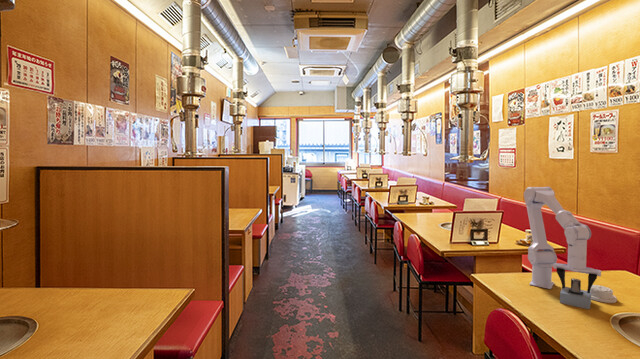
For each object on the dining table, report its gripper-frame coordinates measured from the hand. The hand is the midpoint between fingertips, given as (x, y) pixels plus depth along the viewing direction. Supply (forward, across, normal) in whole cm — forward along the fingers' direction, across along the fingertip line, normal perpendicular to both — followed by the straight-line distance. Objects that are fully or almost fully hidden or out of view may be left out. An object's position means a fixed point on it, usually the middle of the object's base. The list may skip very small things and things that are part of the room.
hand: (575, 290), depth 127 cm
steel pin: (+5, 0, 0) cm, 5 cm away
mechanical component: (+5, +7, +12) cm, 15 cm away
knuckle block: (+5, 0, 0) cm, 5 cm away
